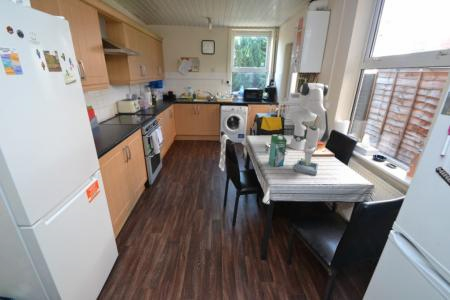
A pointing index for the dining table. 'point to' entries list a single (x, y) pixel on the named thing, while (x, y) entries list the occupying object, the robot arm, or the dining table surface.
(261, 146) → the dining table surface
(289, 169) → the dining table surface
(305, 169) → the bin
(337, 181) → the dining table surface
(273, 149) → the milk carton
